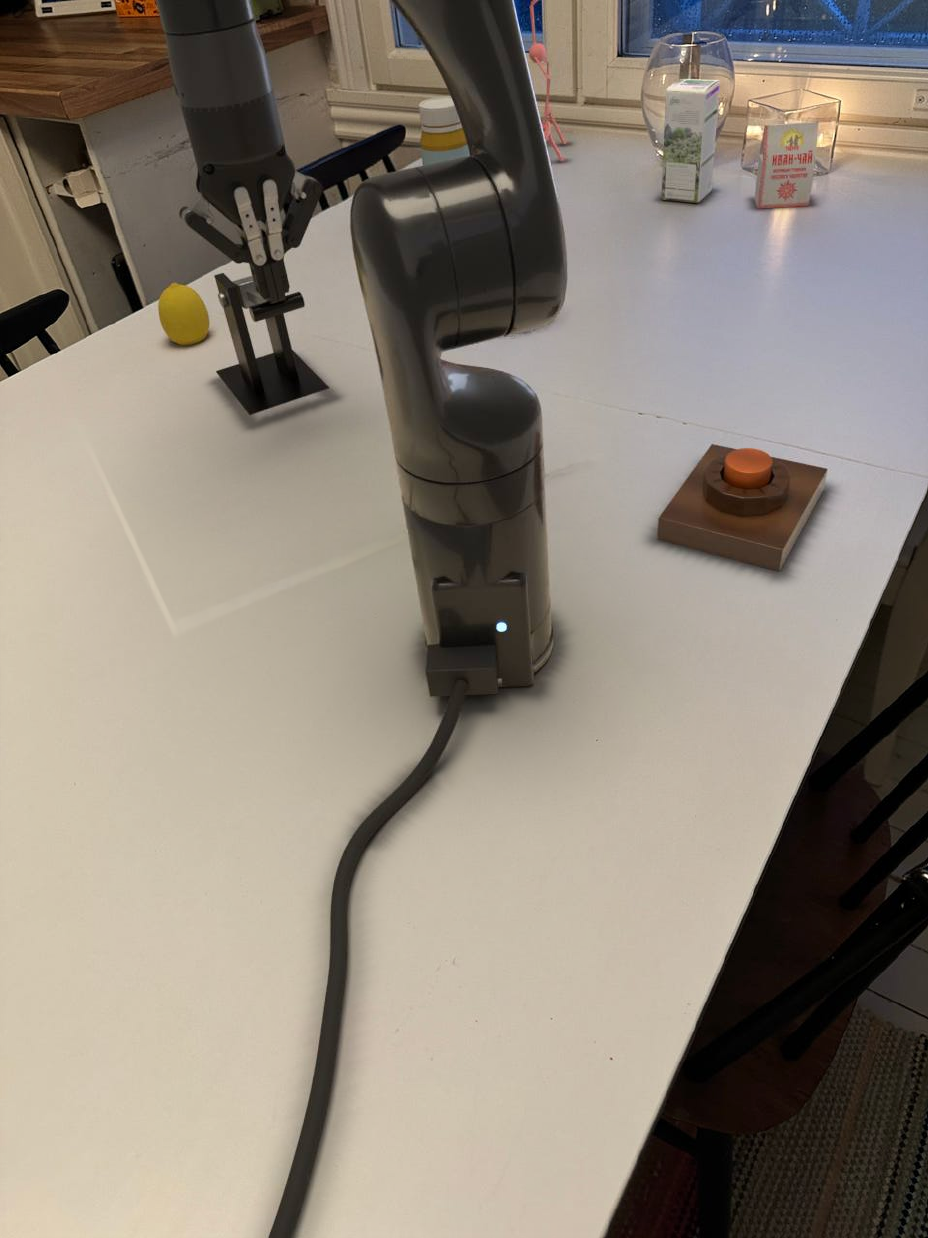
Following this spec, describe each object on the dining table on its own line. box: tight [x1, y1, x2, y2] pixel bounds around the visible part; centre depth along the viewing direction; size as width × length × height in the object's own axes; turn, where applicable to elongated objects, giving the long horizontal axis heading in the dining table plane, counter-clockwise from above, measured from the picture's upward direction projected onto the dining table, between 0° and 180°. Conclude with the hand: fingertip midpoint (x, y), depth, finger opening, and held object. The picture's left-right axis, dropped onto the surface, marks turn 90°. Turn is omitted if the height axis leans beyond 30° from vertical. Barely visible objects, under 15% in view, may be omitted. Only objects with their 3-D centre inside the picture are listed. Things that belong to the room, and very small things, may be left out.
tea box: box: [753, 121, 819, 210], centre depth 125 cm, size 4×7×10 cm, turn 84°
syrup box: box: [661, 78, 721, 204], centre depth 129 cm, size 6×6×14 cm
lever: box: [231, 275, 306, 323], centre depth 91 cm, size 12×5×2 cm, turn 28°
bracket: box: [213, 272, 330, 416], centre depth 97 cm, size 12×9×13 cm
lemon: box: [157, 282, 210, 346], centre depth 109 cm, size 6×6×8 cm
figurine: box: [528, 0, 573, 163], centre depth 143 cm, size 15×26×35 cm, turn 173°
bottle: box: [418, 95, 470, 166], centre depth 132 cm, size 7×7×15 cm
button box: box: [656, 443, 828, 572], centre depth 76 cm, size 12×10×4 cm
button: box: [724, 447, 772, 490], centre depth 74 cm, size 4×4×2 cm
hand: (275, 299), depth 86 cm, fingers closed
